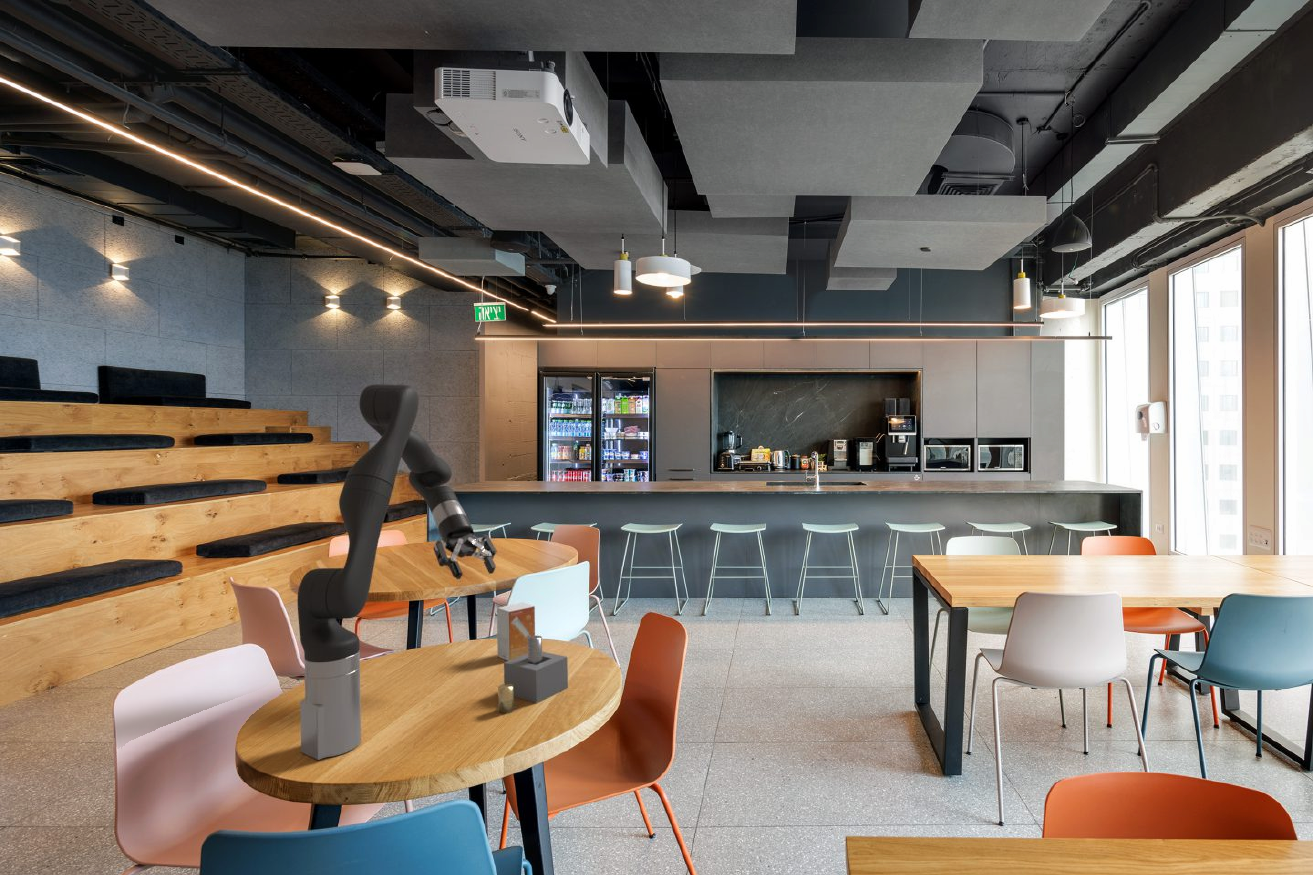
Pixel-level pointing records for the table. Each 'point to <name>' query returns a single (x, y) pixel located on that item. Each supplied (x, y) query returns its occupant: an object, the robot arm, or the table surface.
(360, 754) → the table surface
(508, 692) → the brass pin
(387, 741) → the table surface
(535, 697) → the collar block
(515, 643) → the small box
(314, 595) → the robot arm
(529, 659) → the grey metal rod
